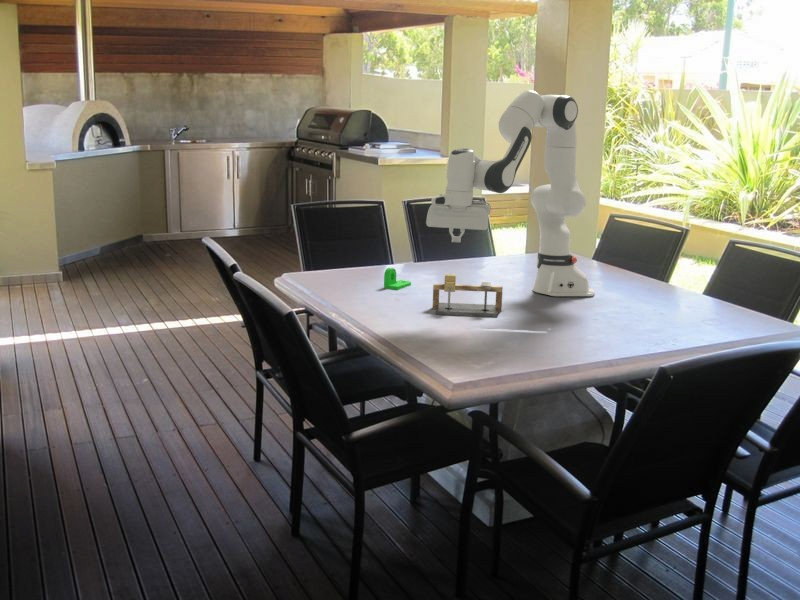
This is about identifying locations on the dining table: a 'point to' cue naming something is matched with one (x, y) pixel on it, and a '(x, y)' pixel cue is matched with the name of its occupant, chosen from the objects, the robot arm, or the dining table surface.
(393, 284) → the mechanical part
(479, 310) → the bolt plate
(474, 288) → the wooden frame rack
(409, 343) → the dining table surface
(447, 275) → the slider leg
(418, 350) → the dining table surface
